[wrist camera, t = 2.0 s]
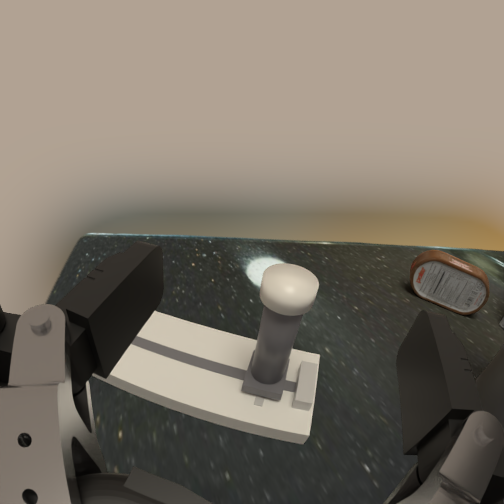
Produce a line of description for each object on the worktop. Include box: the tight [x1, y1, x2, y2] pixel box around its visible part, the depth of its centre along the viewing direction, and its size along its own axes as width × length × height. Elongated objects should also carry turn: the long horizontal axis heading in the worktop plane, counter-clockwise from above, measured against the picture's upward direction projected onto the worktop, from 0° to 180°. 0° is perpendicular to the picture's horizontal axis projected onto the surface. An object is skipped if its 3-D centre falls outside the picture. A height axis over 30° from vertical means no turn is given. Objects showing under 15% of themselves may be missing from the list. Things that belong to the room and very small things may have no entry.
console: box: [92, 311, 320, 444], centre depth 30 cm, size 26×10×3 cm, turn 76°
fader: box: [241, 263, 319, 400], centre depth 25 cm, size 4×4×12 cm
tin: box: [410, 250, 489, 315], centre depth 43 cm, size 15×3×8 cm, turn 60°
